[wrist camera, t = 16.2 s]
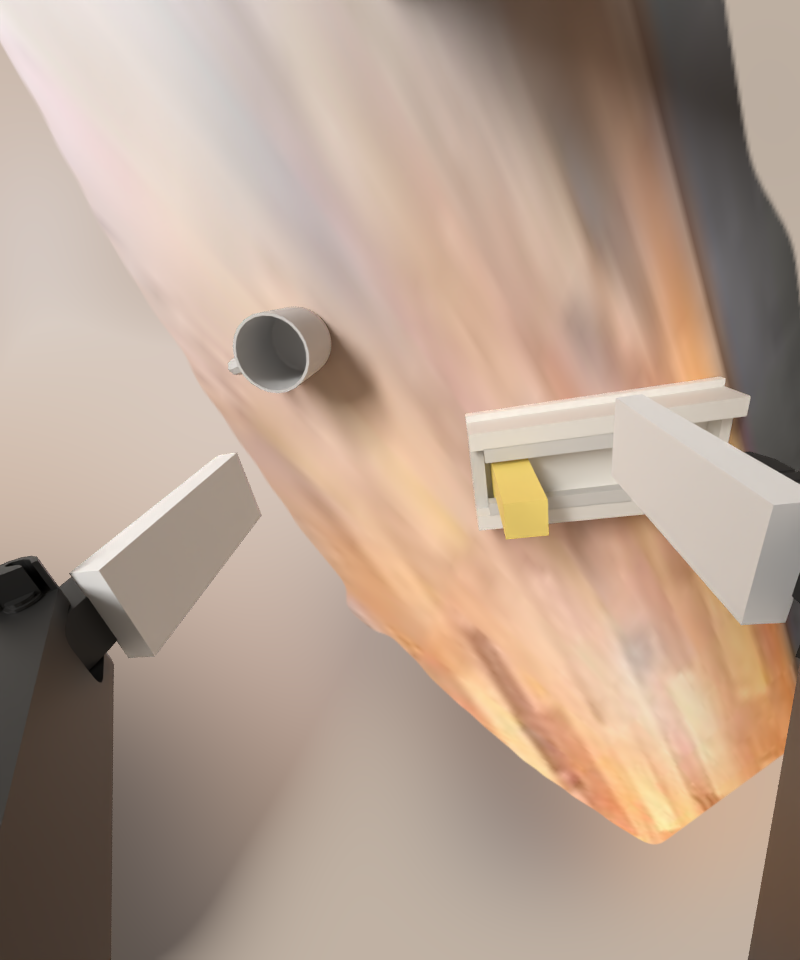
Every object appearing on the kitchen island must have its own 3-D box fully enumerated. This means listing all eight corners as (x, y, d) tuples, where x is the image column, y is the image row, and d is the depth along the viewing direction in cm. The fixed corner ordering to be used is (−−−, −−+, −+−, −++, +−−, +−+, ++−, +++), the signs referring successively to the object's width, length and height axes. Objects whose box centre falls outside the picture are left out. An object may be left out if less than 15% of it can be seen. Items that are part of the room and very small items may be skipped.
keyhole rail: (464, 413, 46) (467, 428, 42) (719, 376, 42) (752, 388, 38) (476, 514, 52) (479, 535, 48) (699, 490, 48) (726, 512, 44)
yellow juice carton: (488, 442, 47) (502, 491, 36) (522, 438, 46) (547, 486, 35) (492, 492, 50) (507, 550, 39) (525, 488, 49) (549, 547, 38)
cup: (342, 362, 45) (321, 379, 37) (267, 388, 47) (232, 410, 39) (316, 296, 42) (288, 300, 34) (237, 327, 44) (193, 338, 36)
